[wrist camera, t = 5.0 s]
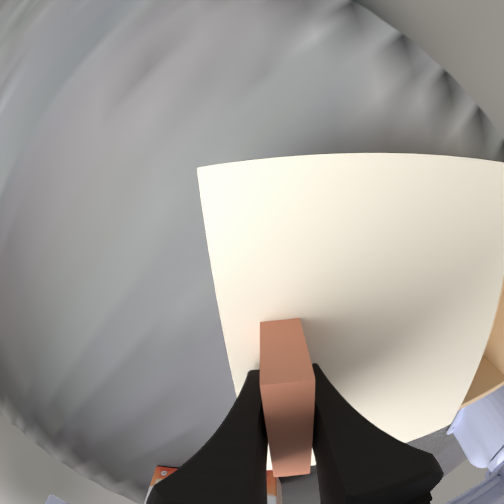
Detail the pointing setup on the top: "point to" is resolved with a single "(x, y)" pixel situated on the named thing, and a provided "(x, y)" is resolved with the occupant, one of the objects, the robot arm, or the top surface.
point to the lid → (355, 285)
